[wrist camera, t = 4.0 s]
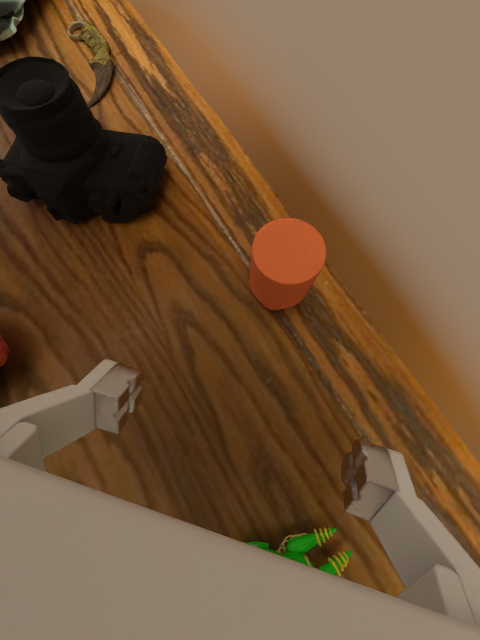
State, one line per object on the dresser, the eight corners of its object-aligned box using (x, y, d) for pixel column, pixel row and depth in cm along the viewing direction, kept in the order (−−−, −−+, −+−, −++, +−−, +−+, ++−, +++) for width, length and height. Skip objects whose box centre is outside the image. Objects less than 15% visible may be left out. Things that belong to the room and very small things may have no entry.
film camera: (150, 68, 22) (115, 157, 19) (173, 170, 31) (152, 241, 28) (-43, 39, 22) (-105, 123, 20) (36, 149, 32) (1, 217, 29)
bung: (238, 286, 27) (238, 236, 19) (282, 264, 28) (300, 206, 20) (264, 330, 26) (276, 297, 18) (310, 305, 27) (341, 262, 18)
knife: (82, 116, 33) (123, 102, 33) (77, 109, 33) (119, 94, 32) (69, 30, 37) (105, 16, 37) (63, 21, 36) (101, 7, 36)
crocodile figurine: (95, 635, 20) (57, 696, 16) (311, 488, 23) (327, 508, 18) (134, 748, 18) (104, 848, 14) (363, 577, 21) (393, 620, 17)
